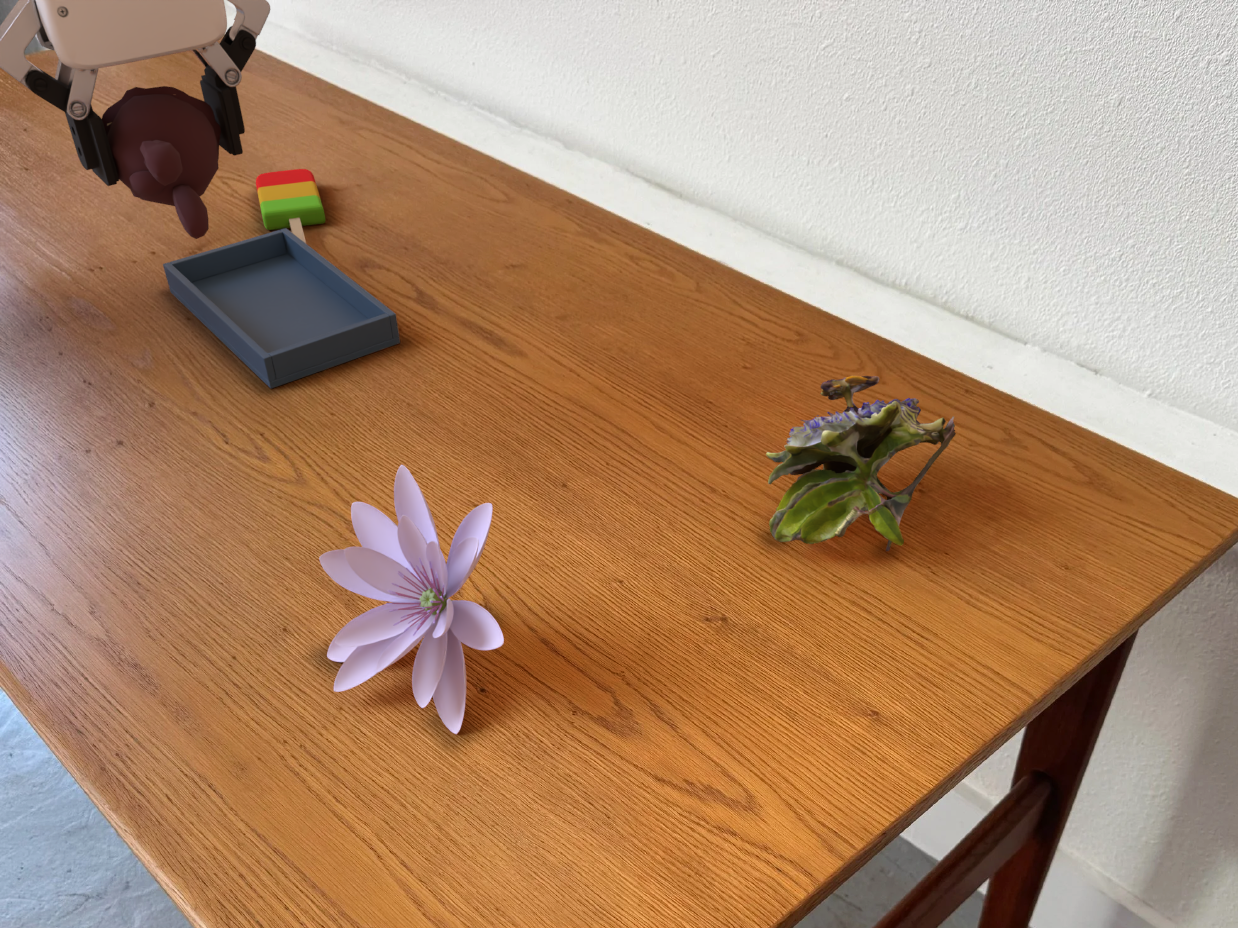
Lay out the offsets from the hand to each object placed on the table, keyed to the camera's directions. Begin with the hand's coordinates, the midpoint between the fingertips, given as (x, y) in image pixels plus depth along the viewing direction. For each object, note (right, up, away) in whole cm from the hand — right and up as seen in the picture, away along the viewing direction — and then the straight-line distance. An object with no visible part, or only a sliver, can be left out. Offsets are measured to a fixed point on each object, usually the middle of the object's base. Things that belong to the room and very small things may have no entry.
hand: (167, 160), depth 76 cm
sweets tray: (0, -3, +25) cm, 25 cm away
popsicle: (-3, +9, +38) cm, 40 cm away
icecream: (0, -2, +2) cm, 3 cm away
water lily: (+16, -31, -4) cm, 35 cm away
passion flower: (+43, -22, +6) cm, 49 cm away
